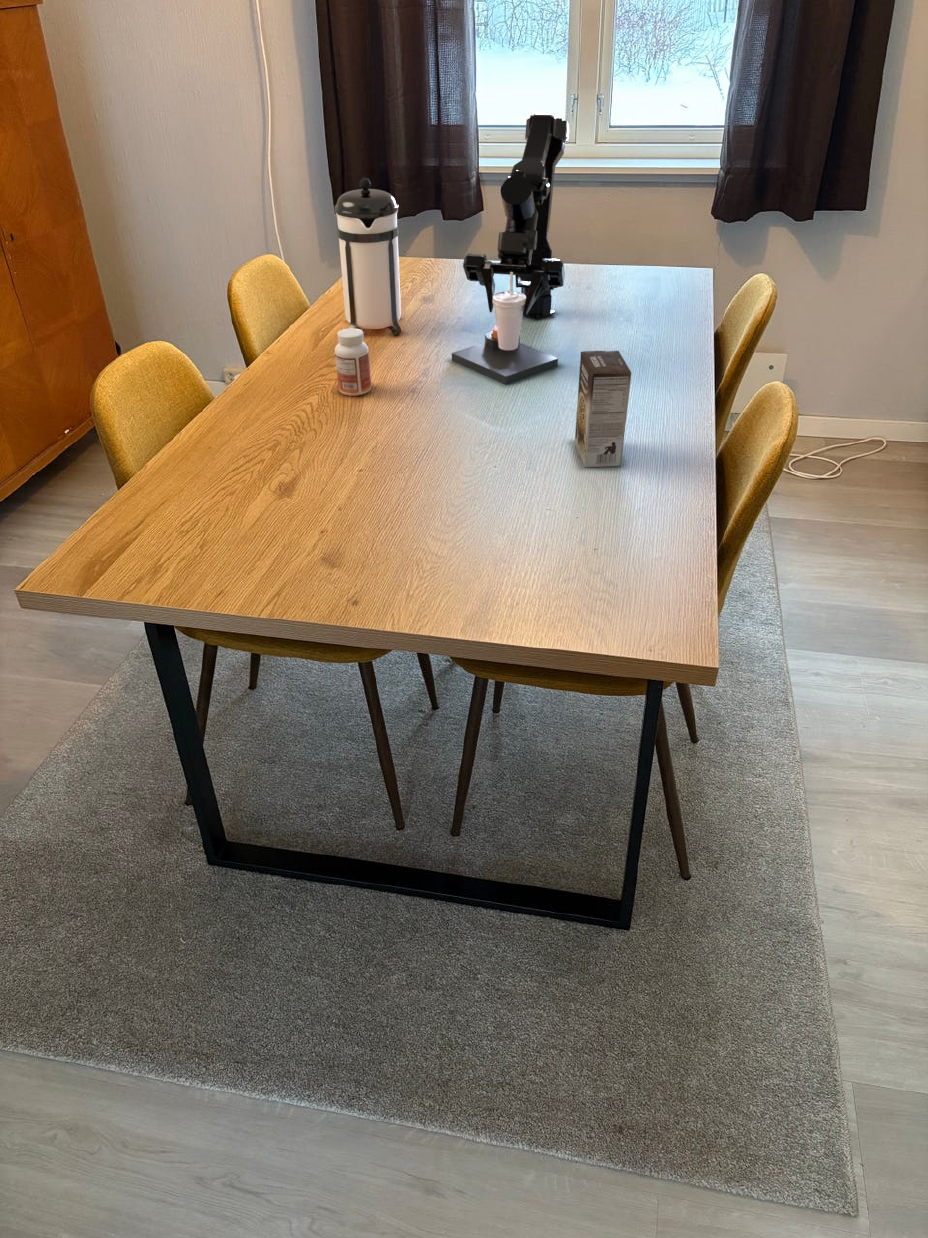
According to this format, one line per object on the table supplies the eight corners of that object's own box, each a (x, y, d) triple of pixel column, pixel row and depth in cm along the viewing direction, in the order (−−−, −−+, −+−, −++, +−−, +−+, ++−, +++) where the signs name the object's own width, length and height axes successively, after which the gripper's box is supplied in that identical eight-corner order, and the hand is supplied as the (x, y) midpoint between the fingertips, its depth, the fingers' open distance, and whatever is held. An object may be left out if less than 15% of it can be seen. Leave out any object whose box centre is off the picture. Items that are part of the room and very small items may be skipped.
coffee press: (426, 325, 204) (421, 176, 186) (371, 345, 195) (361, 190, 177) (372, 307, 214) (363, 163, 196) (318, 325, 205) (303, 176, 187)
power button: (488, 336, 190) (488, 327, 189) (503, 331, 192) (503, 323, 191) (501, 341, 188) (502, 333, 187) (516, 337, 190) (516, 328, 189)
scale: (450, 360, 188) (449, 343, 186) (503, 343, 196) (503, 326, 194) (505, 385, 178) (506, 367, 176) (559, 365, 186) (560, 348, 184)
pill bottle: (364, 381, 180) (360, 324, 173) (376, 392, 176) (372, 334, 169) (333, 387, 178) (328, 329, 171) (345, 399, 174) (340, 340, 167)
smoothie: (531, 344, 182) (533, 271, 173) (513, 355, 178) (515, 280, 169) (503, 337, 185) (504, 265, 176) (485, 348, 181) (485, 274, 172)
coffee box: (572, 442, 159) (579, 350, 149) (610, 441, 159) (619, 348, 150) (583, 468, 152) (590, 372, 142) (622, 466, 152) (632, 371, 142)
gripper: (464, 208, 172) (451, 288, 170) (566, 213, 168) (554, 295, 166) (474, 240, 182) (461, 316, 181) (569, 246, 179) (557, 323, 177)
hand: (507, 312), depth 176 cm, fingers closed on smoothie, 6 cm apart
